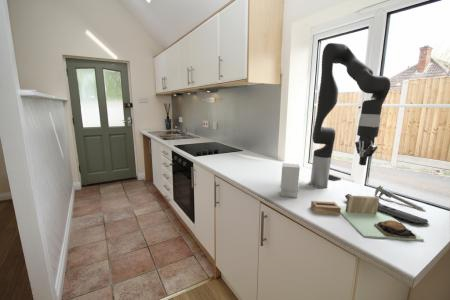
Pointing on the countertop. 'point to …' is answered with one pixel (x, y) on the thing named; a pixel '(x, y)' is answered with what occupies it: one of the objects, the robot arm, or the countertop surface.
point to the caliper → (396, 197)
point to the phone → (333, 178)
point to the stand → (325, 207)
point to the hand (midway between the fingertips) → (362, 164)
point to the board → (362, 204)
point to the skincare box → (289, 180)
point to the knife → (399, 213)
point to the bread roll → (394, 229)
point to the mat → (372, 224)
